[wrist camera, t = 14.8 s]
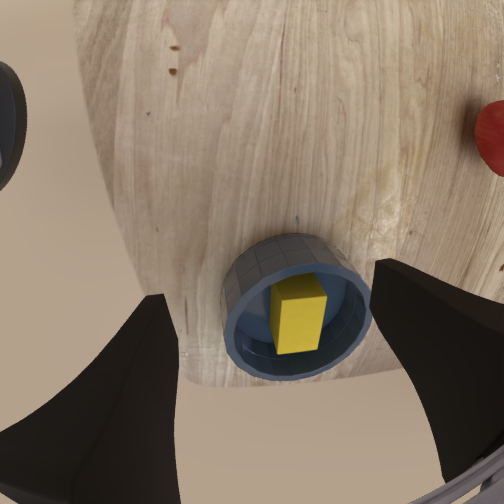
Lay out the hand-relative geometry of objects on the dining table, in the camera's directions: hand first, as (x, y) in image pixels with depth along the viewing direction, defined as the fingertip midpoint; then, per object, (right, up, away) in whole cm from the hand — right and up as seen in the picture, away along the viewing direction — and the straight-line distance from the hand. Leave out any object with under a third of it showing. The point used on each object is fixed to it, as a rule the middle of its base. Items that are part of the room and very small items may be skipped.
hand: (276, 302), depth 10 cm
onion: (+17, +11, +8) cm, 22 cm away
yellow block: (+2, -2, +11) cm, 11 cm away
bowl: (+2, -1, +12) cm, 12 cm away
